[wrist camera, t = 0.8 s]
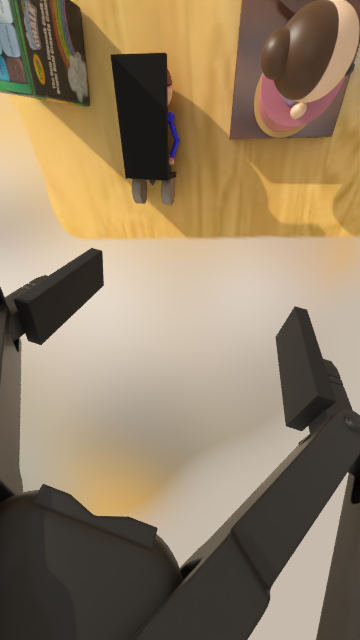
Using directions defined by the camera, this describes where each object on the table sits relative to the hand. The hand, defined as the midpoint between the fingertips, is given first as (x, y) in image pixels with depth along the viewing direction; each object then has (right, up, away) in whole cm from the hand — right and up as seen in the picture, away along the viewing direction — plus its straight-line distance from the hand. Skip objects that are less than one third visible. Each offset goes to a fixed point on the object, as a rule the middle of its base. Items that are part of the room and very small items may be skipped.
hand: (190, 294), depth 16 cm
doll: (+11, +23, +9) cm, 27 cm away
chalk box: (-17, +33, +15) cm, 40 cm away
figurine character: (-4, +24, +18) cm, 30 cm away
